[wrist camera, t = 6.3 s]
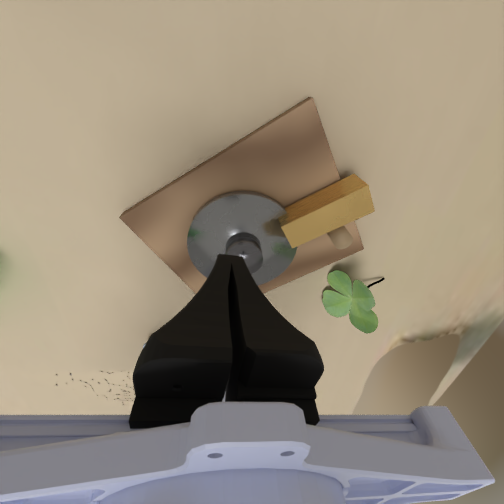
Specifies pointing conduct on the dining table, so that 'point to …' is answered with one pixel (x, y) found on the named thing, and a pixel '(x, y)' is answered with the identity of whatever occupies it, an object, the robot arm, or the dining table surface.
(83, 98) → the dining table surface
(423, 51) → the dining table surface
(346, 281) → the seedling
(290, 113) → the board
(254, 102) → the dining table surface
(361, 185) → the pan with wooden handle
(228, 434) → the robot arm
